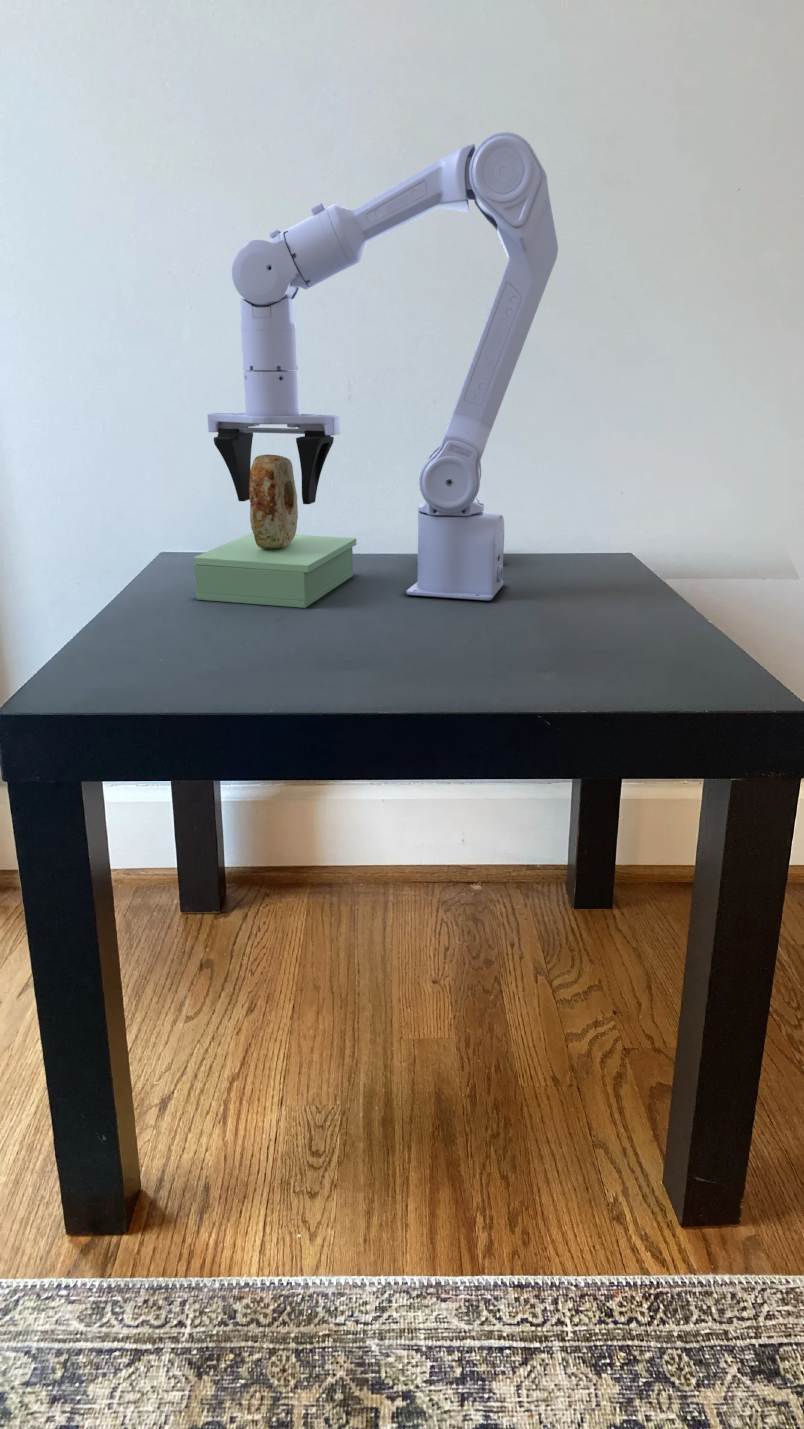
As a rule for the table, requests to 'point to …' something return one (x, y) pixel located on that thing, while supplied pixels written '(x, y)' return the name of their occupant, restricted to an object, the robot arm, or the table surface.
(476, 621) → the table surface
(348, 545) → the lunchbox lid
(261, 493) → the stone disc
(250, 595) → the box
